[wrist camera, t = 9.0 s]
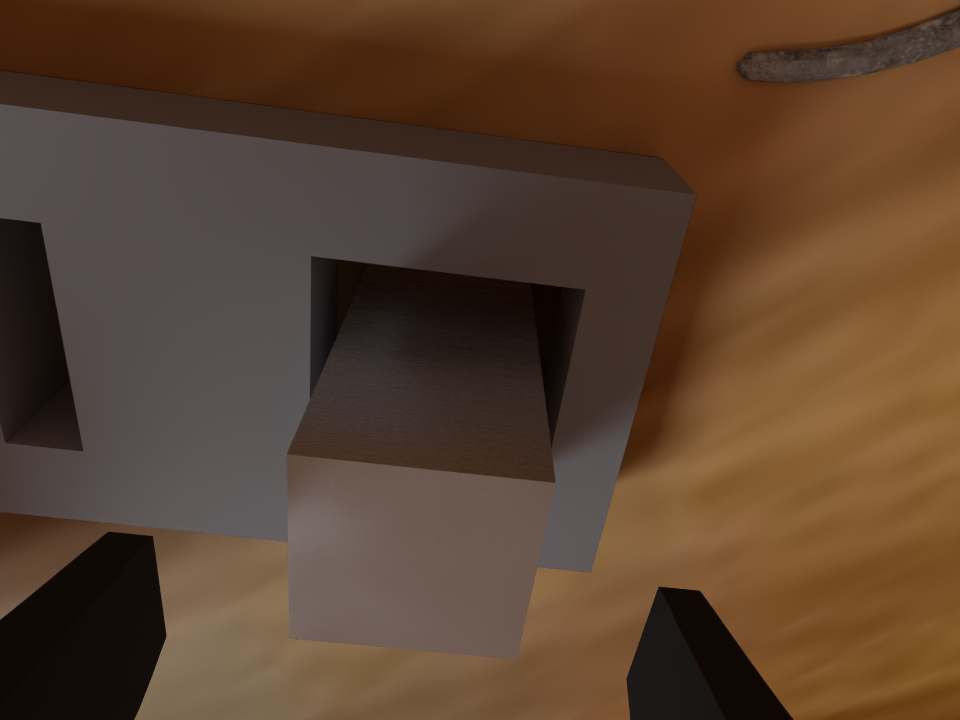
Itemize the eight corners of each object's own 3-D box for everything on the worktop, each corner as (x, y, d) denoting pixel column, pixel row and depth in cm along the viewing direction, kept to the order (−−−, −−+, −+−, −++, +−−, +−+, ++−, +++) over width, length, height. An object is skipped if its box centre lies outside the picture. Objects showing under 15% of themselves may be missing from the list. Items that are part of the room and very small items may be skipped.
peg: (363, 395, 19) (289, 638, 12) (370, 259, 17) (286, 454, 10) (507, 411, 19) (516, 659, 12) (529, 278, 17) (556, 483, 10)
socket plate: (-45, 429, 20) (-126, 499, 17) (-155, 50, 15) (-293, 65, 12) (578, 496, 21) (590, 572, 18) (662, 158, 16) (696, 195, 13)
